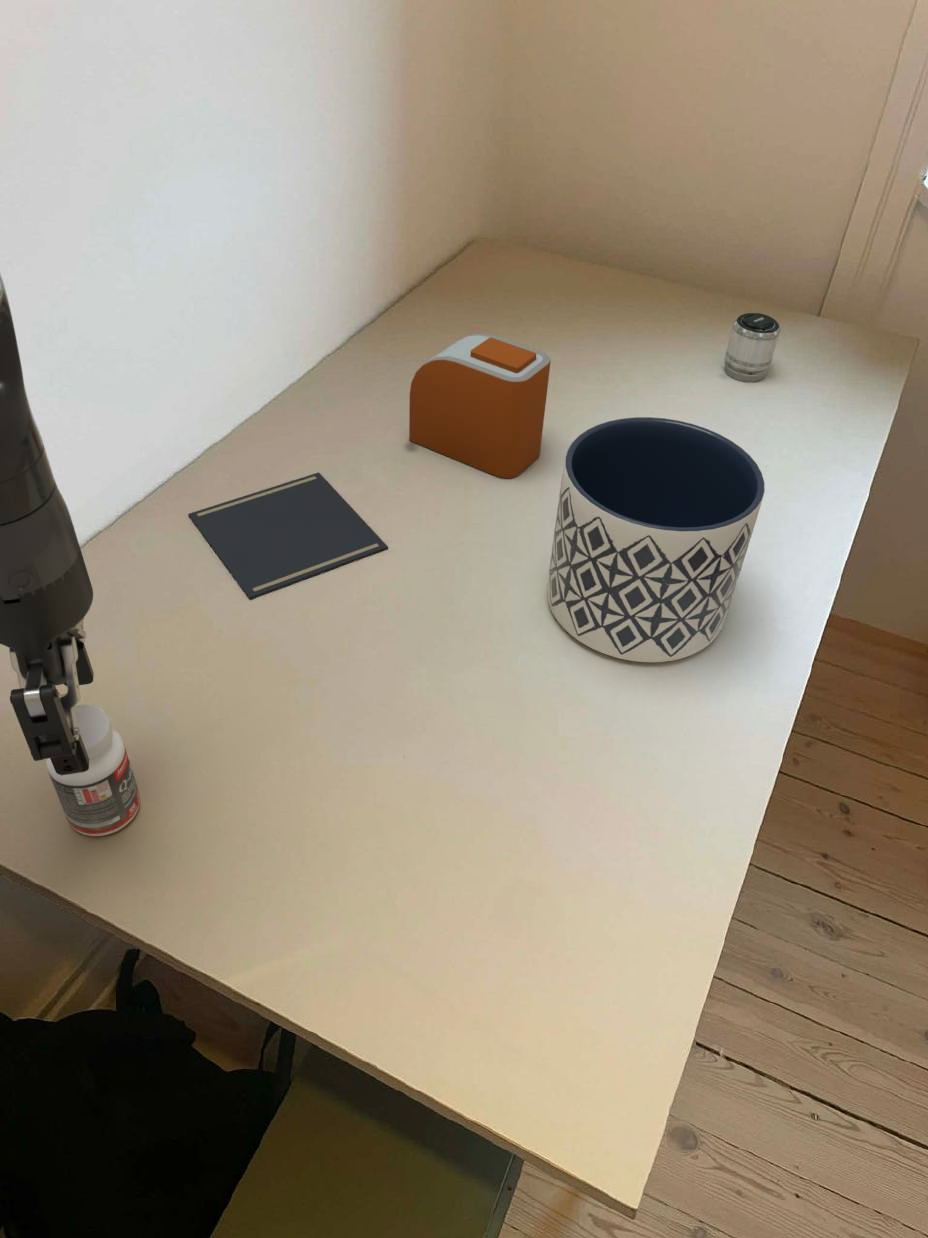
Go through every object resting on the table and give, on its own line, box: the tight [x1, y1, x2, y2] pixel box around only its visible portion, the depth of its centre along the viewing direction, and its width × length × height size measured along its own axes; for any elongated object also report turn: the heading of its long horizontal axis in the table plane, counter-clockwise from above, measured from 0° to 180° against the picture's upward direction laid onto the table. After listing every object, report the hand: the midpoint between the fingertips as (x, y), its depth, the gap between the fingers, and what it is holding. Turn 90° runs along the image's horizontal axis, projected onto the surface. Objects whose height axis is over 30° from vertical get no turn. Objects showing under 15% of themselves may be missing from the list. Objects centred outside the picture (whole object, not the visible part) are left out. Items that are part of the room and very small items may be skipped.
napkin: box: [187, 472, 389, 600], centre depth 105 cm, size 16×16×1 cm
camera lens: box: [724, 312, 781, 383], centre depth 133 cm, size 6×6×8 cm
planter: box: [546, 416, 766, 663], centre depth 93 cm, size 18×18×16 cm
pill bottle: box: [45, 704, 141, 837], centre depth 75 cm, size 6×6×10 cm
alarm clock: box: [408, 332, 552, 479], centre depth 114 cm, size 15×8×14 cm, turn 57°
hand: (77, 724), depth 71 cm, fingers open, 8 cm apart
